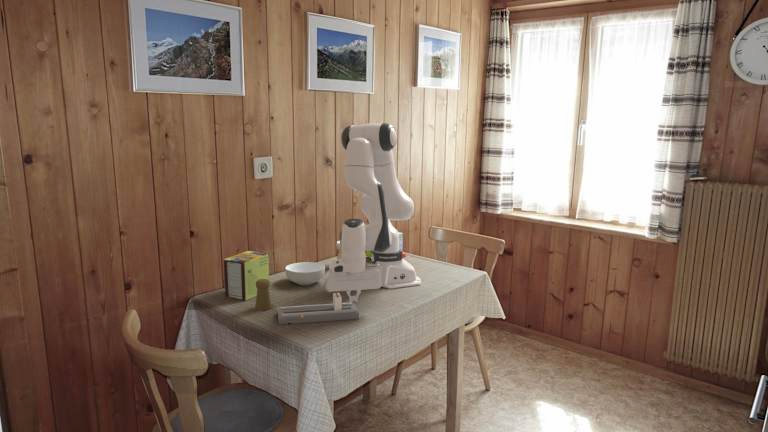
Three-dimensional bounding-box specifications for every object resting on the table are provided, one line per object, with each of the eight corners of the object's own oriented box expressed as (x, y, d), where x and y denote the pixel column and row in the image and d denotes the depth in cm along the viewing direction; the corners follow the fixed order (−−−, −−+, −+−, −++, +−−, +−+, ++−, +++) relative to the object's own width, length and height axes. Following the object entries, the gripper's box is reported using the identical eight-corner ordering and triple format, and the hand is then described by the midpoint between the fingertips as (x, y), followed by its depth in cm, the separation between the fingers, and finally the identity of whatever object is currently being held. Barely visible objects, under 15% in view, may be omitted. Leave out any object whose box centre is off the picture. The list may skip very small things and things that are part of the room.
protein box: (269, 289, 222) (269, 253, 219) (245, 301, 208) (244, 262, 205) (249, 286, 226) (248, 250, 224) (224, 297, 213) (222, 259, 210)
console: (353, 307, 203) (353, 300, 202) (358, 318, 192) (359, 311, 192) (277, 313, 196) (277, 305, 196) (278, 324, 186) (278, 316, 185)
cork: (256, 305, 204) (255, 277, 202) (272, 304, 205) (271, 277, 203) (254, 310, 198) (253, 282, 196) (270, 310, 199) (269, 281, 197)
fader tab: (339, 305, 198) (339, 292, 197) (341, 310, 193) (341, 296, 192) (332, 306, 198) (332, 292, 197) (334, 311, 193) (334, 297, 192)
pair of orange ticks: (300, 306, 198) (300, 305, 198) (303, 317, 187) (303, 316, 187) (298, 306, 198) (298, 305, 198) (301, 317, 187) (301, 316, 187)
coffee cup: (338, 263, 262) (338, 239, 260) (357, 264, 261) (357, 240, 259) (334, 268, 253) (334, 243, 251) (353, 269, 252) (353, 244, 250)
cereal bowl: (332, 280, 236) (332, 264, 235) (311, 291, 221) (311, 274, 220) (299, 274, 243) (299, 259, 242) (277, 285, 228) (277, 269, 227)
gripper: (379, 260, 199) (379, 296, 202) (324, 263, 194) (324, 300, 197) (383, 265, 193) (383, 302, 196) (326, 268, 188) (326, 306, 191)
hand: (353, 301), depth 196 cm, fingers closed
